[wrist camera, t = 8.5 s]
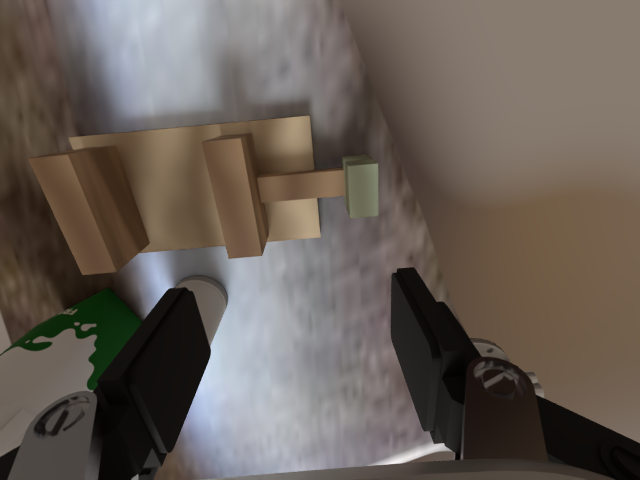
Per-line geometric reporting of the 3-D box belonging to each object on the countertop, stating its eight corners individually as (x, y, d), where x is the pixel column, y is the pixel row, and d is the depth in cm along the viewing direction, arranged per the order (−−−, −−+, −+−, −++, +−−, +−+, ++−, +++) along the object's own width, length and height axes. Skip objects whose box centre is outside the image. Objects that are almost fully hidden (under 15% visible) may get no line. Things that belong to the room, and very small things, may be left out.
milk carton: (107, 356, 39) (-70, 573, 21) (52, 306, 36) (-214, 513, 18) (160, 331, 38) (21, 539, 20) (108, 276, 35) (-118, 467, 16)
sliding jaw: (366, 122, 27) (377, 125, 23) (368, 225, 31) (378, 245, 27) (219, 135, 27) (201, 141, 23) (240, 236, 31) (228, 258, 27)
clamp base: (309, 115, 28) (309, 117, 22) (320, 232, 33) (322, 264, 27) (77, 136, 28) (7, 145, 22) (122, 250, 33) (75, 285, 27)
